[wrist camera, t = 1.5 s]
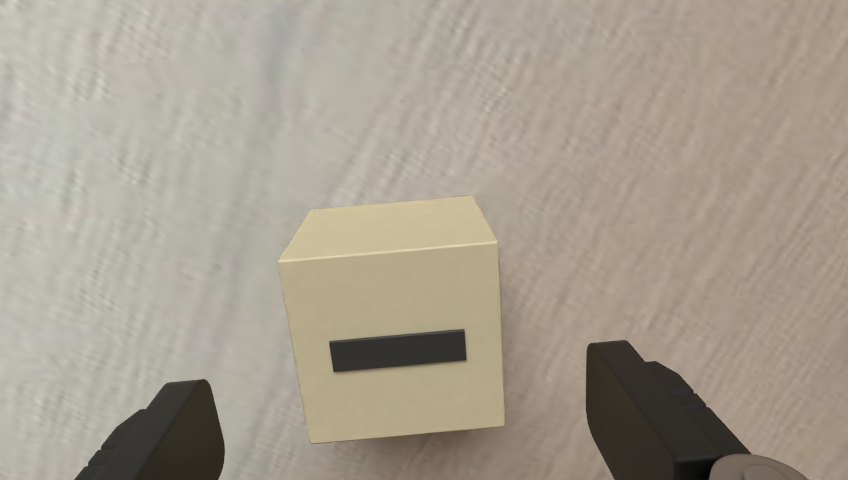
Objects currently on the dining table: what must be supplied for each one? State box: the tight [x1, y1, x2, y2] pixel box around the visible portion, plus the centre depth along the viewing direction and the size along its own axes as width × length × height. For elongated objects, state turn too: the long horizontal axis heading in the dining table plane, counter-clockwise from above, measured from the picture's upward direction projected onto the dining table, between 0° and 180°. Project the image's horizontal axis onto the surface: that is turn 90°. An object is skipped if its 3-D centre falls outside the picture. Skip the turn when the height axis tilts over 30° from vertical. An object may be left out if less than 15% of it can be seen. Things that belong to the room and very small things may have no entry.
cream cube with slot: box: [277, 196, 505, 444], centre depth 15 cm, size 5×5×5 cm
